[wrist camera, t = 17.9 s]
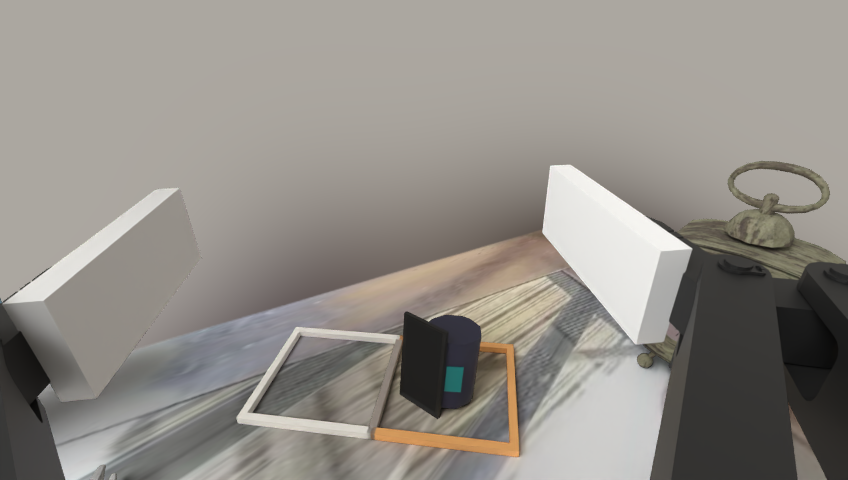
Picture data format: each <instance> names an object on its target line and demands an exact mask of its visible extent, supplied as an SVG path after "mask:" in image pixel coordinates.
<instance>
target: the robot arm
mask: <svg viewBox="0 0 848 480" xmlns="http://www.w3.org/2000/svg"><path fill="white" fill-rule="evenodd" d="M543 224H544V225H543V232H542V233H543V234H544V235H545V236H546V238H547V239H548V240H549V241H550V242H551V244H552V245H553V246H554V247H555V248H556V250H557V251H558V252H559V253H560V254H561V256H562V257H563V258H564V259H565V260H566V262H567V263H568V264H569V265H570V266H571V268H572V269H573V270H574V271H575V272H576V274H577V275H578V276H579V277H580V278H581V280H582V281H583V282H584V283H585V284H586V286H587V287H588V288H589V289H590V290H591V292H592V293H593V294H594V295H595V296H596V298H597V299H598V300H599V301H600V302H601V304H602V305H603V306H604V307H605V308H606V310H607V311H608V312H609V313H610V314H611V316H612V317H613V318H614V319H615V320H616V322H617V323H618V324H619V325H620V326H621V328H622V329H623V330H624V331H625V332H626V334H627V335H628V336H629V337H630V338H631V340H632V341H633V342H634V343H635V344H636V345H638V344H648V343H658V342H664V339H665V336H666V333H667V330H668V326H669V323H671V324H672V325H673V326H674V327H675V328H676V329H677V330H678V331H679V332H680V334H679V337H678V341H677V344H676V347H675V350H674V353H673V356H672V359H671V362H670V365H669V367H670V368H672V369H671V374H670V379H669V384H668V389H667V394H666V399H665V404H664V410H663V415H662V420H661V425H660V430H659V435H658V440H657V445H656V451H655V456H654V461H653V466H652V471H651V476H650V480H797V472H796V464H795V456H794V447H793V439H792V431H791V423H790V415H789V407H788V403H789V405H790V407H791V409H792V411H793V413H794V415H795V417H796V419H797V421H798V423H799V424H800V426H801V428H802V430H803V432H804V434H805V436H806V438H807V440H808V442H809V444H810V446H811V448H812V450H813V452H814V454H815V456H816V458H817V460H818V462H819V464H820V466H821V468H822V470H823V472H824V474H825V476H826V478H827V480H848V265H847V264H843V263H839V264H836V263H831V262H813V263H809V264H808V265H807V266H806V267H805V269H804V271H803V273H802V275H801V278H800V280H795V279H784V278H773V277H772V275H771V273H770V271H769V270H768V269H767V268H765V267H764V266H762V265H761V264H759V263H756V262H754V261H752V260H750V259H746V258H743V257H739V256H734V255H727V254H714V255H710V254H709V253H707V252H706V251H704V250H703V249H701V248H700V247H698V246H697V245H695V244H694V243H692V242H691V241H689V240H688V239H686V238H683V236H682V235H680V234H679V233H677V232H674V230H673V229H671V228H670V227H668V226H667V225H665V224H664V223H662V222H660V221H657V220H655V219H652V218H649V217H647V216H644V215H643V214H641V213H640V212H638V211H637V210H635V209H634V208H632V207H631V206H630V205H628V204H627V203H625V202H624V201H622V200H621V199H619V198H618V197H616V196H615V195H614V194H612V193H611V192H609V191H608V190H606V189H605V188H603V187H602V186H601V185H599V184H598V183H596V182H595V181H593V180H592V179H590V178H589V177H587V176H586V175H585V174H583V173H582V172H580V171H579V170H577V169H576V168H574V167H573V166H572V165H556V166H550V173H549V181H548V190H547V198H546V207H545V215H544V223H543ZM201 258H202V257H201V254H200V251H199V248H198V245H197V242H196V238H195V235H194V232H193V229H192V225H191V223H190V219H189V216H188V213H187V210H186V206H185V203H184V200H183V197H182V194H181V190H180V188H169V189H156V190H155V191H153V192H152V193H151V194H149V195H148V196H147V197H145V198H144V199H142V200H141V201H140V202H138V203H137V204H136V205H134V206H133V207H132V208H130V209H129V210H128V211H126V212H125V213H124V214H122V215H121V216H120V217H118V218H117V219H116V220H114V221H113V222H112V223H110V224H109V225H108V226H106V227H105V228H104V229H102V230H101V231H100V232H98V233H97V234H96V235H94V236H93V237H92V238H90V239H89V240H87V241H86V242H85V243H83V244H82V245H81V246H79V247H78V248H77V249H75V250H74V251H73V252H71V253H70V254H69V255H67V256H66V257H65V258H63V259H62V260H61V261H59V262H58V263H56V264H55V265H54V266H52V267H50V268H48V269H46V270H45V271H44V272H42V273H41V274H40V275H38V276H37V277H36V278H34V279H33V280H32V282H29V283H28V284H26V285H25V286H24V287H22V288H21V289H20V291H19V292H15V293H14V294H13V295H11V296H10V297H9V298H7V299H6V300H5V301H3V302H2V301H1V299H0V480H65V477H64V474H63V470H62V467H61V463H60V460H59V457H58V453H57V450H56V446H55V443H54V439H53V436H52V432H51V429H50V425H49V422H48V418H47V415H46V411H45V408H44V407H43V405H42V404H41V402H40V400H39V399H38V397H37V396H38V395H39V394H40V393H41V392H42V391H43V390H44V389H45V388H46V386H47V385H48V384H49V383H50V384H51V386H52V388H53V389H54V391H55V393H56V394H57V396H58V398H59V399H60V401H61V402H69V401H79V400H89V399H97V398H98V396H99V395H100V394H101V392H102V391H103V389H104V388H105V387H106V385H107V384H108V383H109V381H110V380H111V379H112V377H113V376H114V375H115V373H116V372H117V371H118V369H119V368H120V367H121V365H122V364H123V363H124V361H125V360H126V359H127V357H128V356H129V355H130V353H131V352H132V351H133V349H134V348H135V346H136V345H137V344H138V343H139V341H140V340H141V338H142V337H143V336H144V334H145V333H146V332H147V330H148V329H149V328H150V326H151V325H152V324H153V322H154V321H155V320H156V318H157V317H158V315H159V314H160V313H161V312H162V310H163V309H164V307H165V306H166V305H167V304H168V302H169V301H170V299H171V298H172V297H173V296H174V294H175V293H176V291H177V290H178V289H179V287H180V286H181V285H182V283H183V282H184V281H185V279H186V278H187V277H188V275H189V274H190V273H191V271H192V270H193V269H194V267H195V266H196V264H197V263H198V262H199V260H200V259H201Z"/></svg>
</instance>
